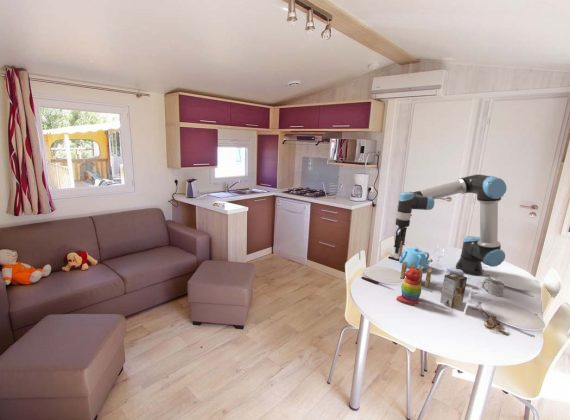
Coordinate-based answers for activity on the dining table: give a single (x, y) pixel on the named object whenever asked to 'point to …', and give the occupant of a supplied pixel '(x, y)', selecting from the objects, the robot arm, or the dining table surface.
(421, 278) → the domino
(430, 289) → the domino mat
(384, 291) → the dining table surface
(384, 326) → the dining table surface
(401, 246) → the domino
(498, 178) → the robot arm
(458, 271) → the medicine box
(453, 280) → the coffee box
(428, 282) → the domino
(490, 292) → the mug
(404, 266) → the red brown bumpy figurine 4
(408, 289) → the stacking bear
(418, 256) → the decorative pot
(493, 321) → the frog figurine
